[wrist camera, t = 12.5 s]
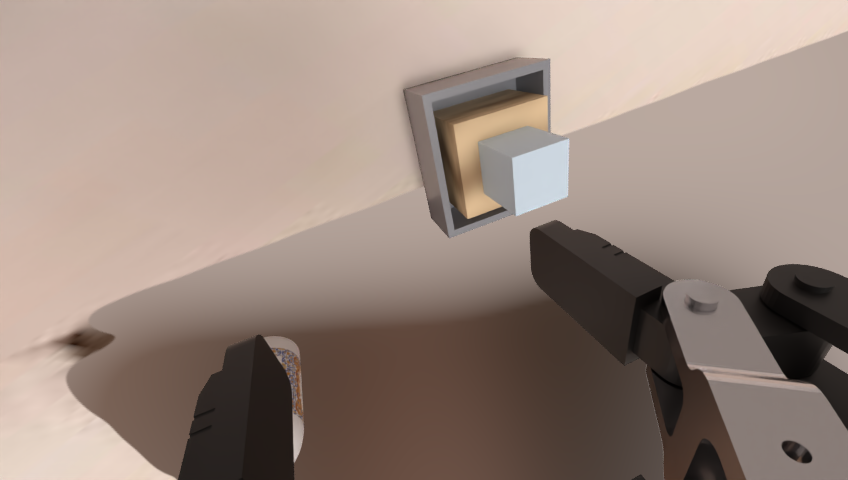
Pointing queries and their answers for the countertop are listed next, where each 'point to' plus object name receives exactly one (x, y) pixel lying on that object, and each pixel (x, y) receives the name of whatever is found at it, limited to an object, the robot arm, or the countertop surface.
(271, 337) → the bath foam
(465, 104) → the oak block
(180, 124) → the countertop surface
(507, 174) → the light blue cube
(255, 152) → the countertop surface
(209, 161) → the countertop surface
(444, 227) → the tote
